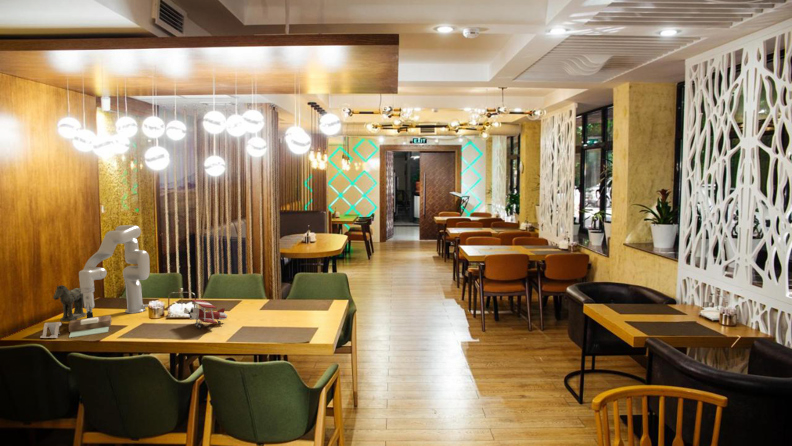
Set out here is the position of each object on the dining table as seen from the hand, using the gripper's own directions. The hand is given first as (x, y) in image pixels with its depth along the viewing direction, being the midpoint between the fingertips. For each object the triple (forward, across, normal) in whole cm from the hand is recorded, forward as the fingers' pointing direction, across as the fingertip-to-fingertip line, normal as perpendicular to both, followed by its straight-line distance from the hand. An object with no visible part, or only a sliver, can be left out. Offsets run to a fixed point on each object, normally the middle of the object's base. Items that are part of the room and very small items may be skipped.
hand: (90, 318), depth 326 cm
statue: (+6, +27, +14) cm, 31 cm away
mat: (+5, -13, 0) cm, 14 cm away
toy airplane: (+5, -38, -65) cm, 76 cm away
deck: (+5, 0, 0) cm, 5 cm away
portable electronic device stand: (+6, -12, +19) cm, 23 cm away
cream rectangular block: (+1, -4, 0) cm, 5 cm away
